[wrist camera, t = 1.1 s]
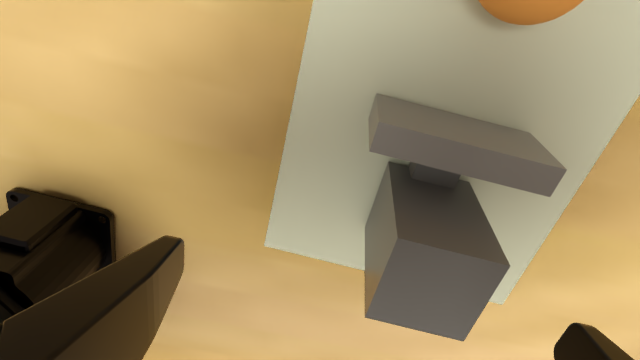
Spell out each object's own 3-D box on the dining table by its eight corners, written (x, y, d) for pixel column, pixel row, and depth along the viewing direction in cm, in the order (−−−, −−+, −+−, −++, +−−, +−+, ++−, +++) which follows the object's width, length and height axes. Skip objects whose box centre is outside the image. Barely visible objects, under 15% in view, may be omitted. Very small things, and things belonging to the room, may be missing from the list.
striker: (465, 252, 21) (499, 350, 15) (337, 220, 20) (327, 308, 15) (530, 132, 17) (602, 205, 12) (376, 93, 17) (381, 149, 12)
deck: (492, 280, 24) (502, 304, 22) (271, 225, 24) (264, 246, 22) (752, -147, 14) (808, -164, 12) (370, -253, 13) (370, -286, 12)
